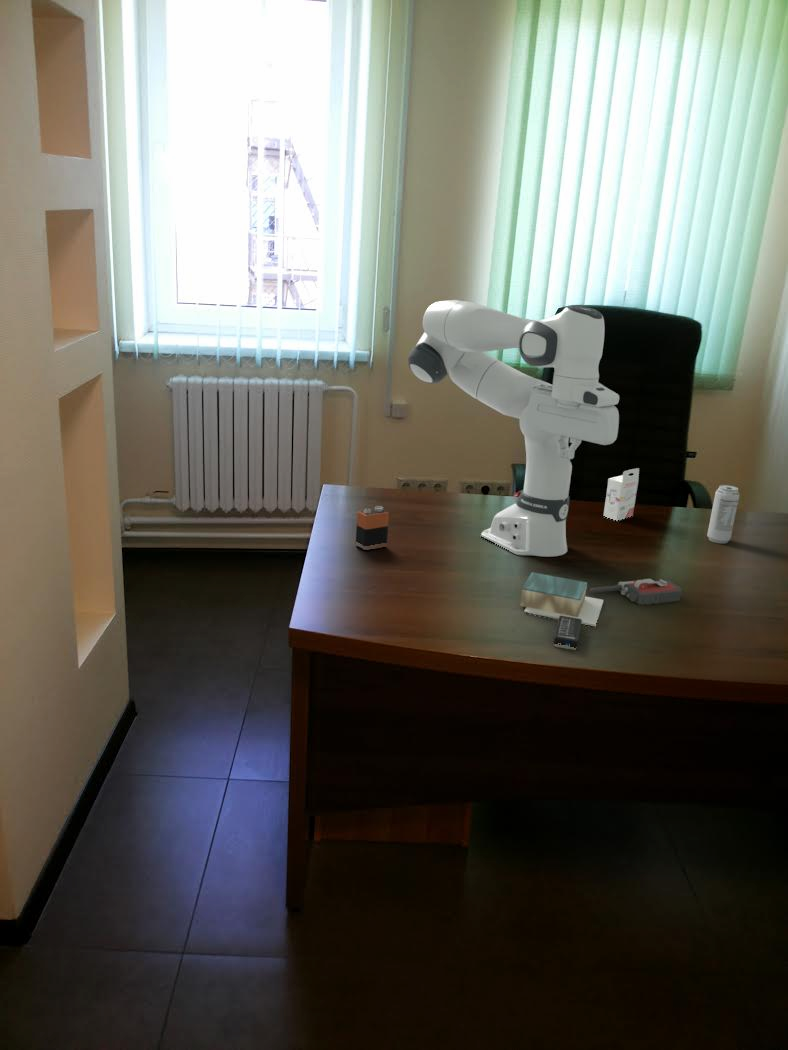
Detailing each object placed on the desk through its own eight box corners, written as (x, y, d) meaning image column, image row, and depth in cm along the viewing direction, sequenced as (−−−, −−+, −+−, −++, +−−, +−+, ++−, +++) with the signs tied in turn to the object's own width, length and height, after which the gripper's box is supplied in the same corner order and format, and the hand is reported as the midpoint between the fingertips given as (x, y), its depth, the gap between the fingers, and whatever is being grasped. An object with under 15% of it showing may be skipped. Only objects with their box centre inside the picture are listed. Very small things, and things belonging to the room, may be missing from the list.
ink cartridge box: (618, 512, 245) (626, 464, 240) (633, 516, 242) (641, 468, 237) (601, 517, 239) (609, 467, 235) (616, 521, 236) (624, 471, 231)
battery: (387, 547, 203) (390, 508, 200) (364, 552, 199) (366, 512, 196) (377, 542, 206) (379, 503, 203) (354, 546, 202) (356, 507, 199)
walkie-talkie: (661, 586, 191) (587, 594, 184) (664, 569, 190) (589, 575, 183) (686, 602, 183) (609, 610, 176) (689, 583, 182) (612, 591, 175)
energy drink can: (726, 537, 228) (736, 485, 223) (732, 545, 222) (743, 491, 218) (703, 535, 229) (714, 483, 224) (709, 543, 223) (720, 489, 218)
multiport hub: (580, 629, 166) (582, 618, 165) (576, 652, 156) (577, 641, 155) (558, 625, 167) (559, 615, 166) (552, 648, 157) (554, 637, 156)
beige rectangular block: (522, 587, 172) (580, 599, 168) (531, 572, 181) (587, 582, 177) (520, 605, 173) (577, 617, 169) (529, 589, 182) (584, 599, 178)
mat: (524, 613, 171) (524, 610, 171) (536, 589, 183) (537, 587, 183) (595, 627, 166) (595, 624, 166) (603, 602, 179) (603, 599, 179)
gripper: (523, 383, 171) (515, 448, 175) (610, 399, 157) (599, 470, 161) (540, 381, 175) (533, 445, 179) (627, 397, 161) (616, 466, 166)
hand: (565, 457), depth 170 cm, fingers closed
